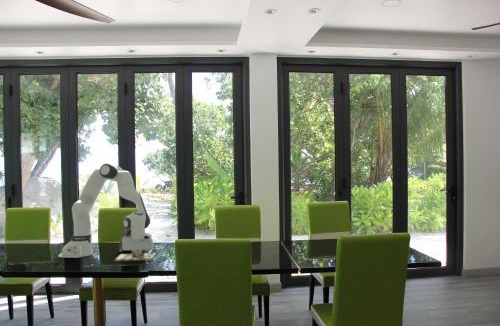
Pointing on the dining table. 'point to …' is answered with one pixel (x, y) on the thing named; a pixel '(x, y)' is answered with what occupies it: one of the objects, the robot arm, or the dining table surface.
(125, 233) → the camera
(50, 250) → the dining table surface
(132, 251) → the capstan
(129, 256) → the board
